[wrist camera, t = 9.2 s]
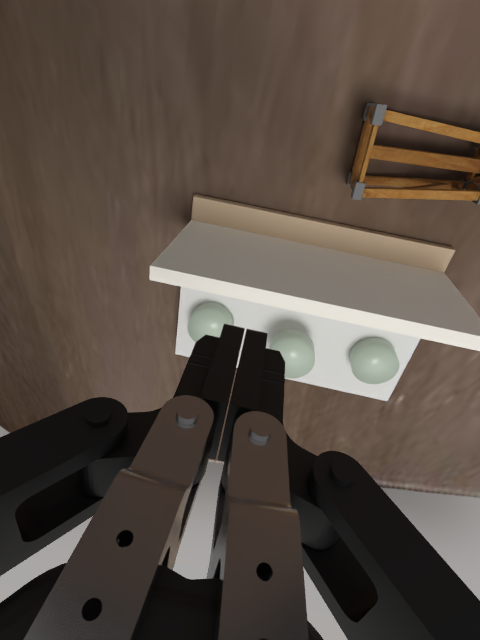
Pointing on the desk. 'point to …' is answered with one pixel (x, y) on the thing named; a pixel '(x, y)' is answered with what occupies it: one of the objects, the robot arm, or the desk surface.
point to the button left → (208, 320)
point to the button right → (374, 360)
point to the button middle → (294, 352)
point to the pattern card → (319, 270)
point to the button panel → (325, 333)
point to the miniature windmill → (413, 161)
